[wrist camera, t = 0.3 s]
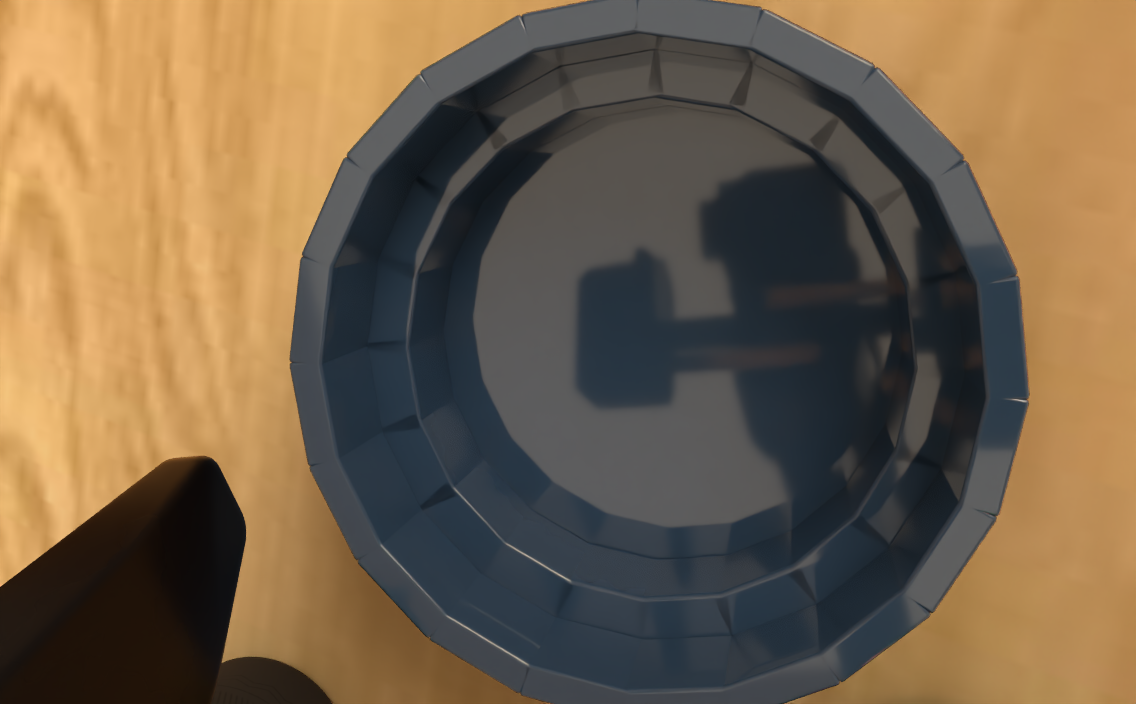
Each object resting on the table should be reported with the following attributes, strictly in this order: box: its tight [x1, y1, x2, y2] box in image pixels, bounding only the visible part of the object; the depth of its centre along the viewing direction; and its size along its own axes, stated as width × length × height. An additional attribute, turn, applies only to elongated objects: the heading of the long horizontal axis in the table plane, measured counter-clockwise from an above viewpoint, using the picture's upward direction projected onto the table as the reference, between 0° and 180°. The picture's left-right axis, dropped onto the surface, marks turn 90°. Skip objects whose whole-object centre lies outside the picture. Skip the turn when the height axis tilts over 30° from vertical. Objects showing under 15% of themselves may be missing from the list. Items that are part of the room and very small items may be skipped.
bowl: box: [290, 0, 1030, 704], centre depth 21 cm, size 13×13×5 cm
